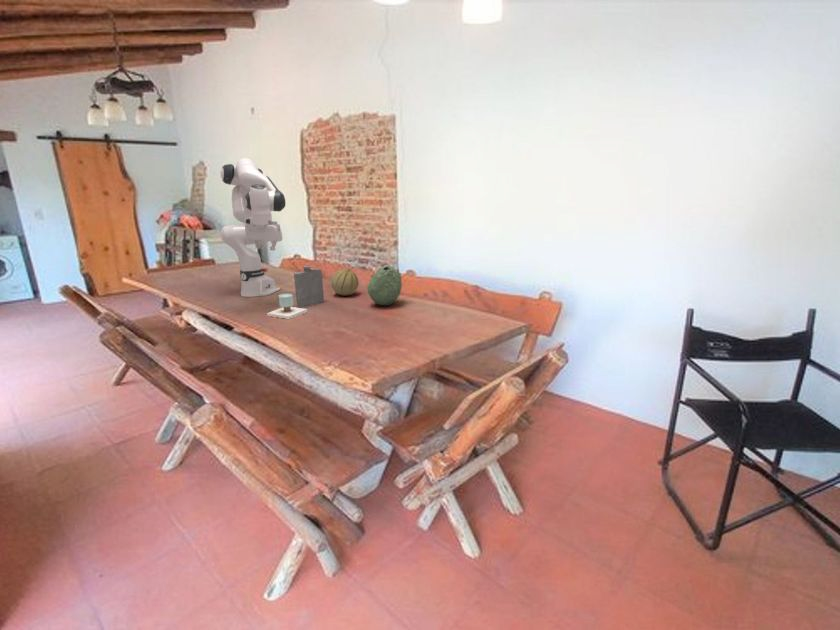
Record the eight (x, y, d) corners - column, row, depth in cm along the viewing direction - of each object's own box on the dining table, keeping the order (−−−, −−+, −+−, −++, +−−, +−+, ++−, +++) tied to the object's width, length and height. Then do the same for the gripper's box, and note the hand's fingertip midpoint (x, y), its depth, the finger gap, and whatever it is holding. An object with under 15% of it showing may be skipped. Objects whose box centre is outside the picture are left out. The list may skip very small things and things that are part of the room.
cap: (285, 302, 212) (284, 293, 210) (296, 304, 209) (295, 294, 208) (276, 305, 206) (275, 296, 205) (287, 307, 204) (286, 297, 202)
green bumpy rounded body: (361, 306, 220) (359, 267, 214) (386, 298, 235) (384, 261, 229) (384, 311, 211) (383, 271, 205) (408, 303, 226) (408, 264, 220)
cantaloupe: (329, 293, 246) (327, 267, 241) (354, 290, 252) (353, 265, 247) (336, 299, 233) (334, 272, 228) (362, 296, 239) (361, 269, 234)
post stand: (286, 308, 217) (284, 292, 215) (307, 312, 212) (305, 295, 209) (267, 316, 206) (265, 298, 204) (288, 319, 201) (287, 301, 198)
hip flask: (299, 308, 218) (295, 269, 212) (294, 307, 220) (291, 268, 214) (325, 301, 229) (322, 264, 223) (320, 300, 232) (317, 263, 226)
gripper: (283, 221, 205) (286, 250, 210) (251, 218, 214) (254, 246, 218) (274, 222, 200) (277, 252, 205) (241, 219, 208) (245, 248, 213)
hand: (265, 249), depth 211 cm, fingers open, 8 cm apart
